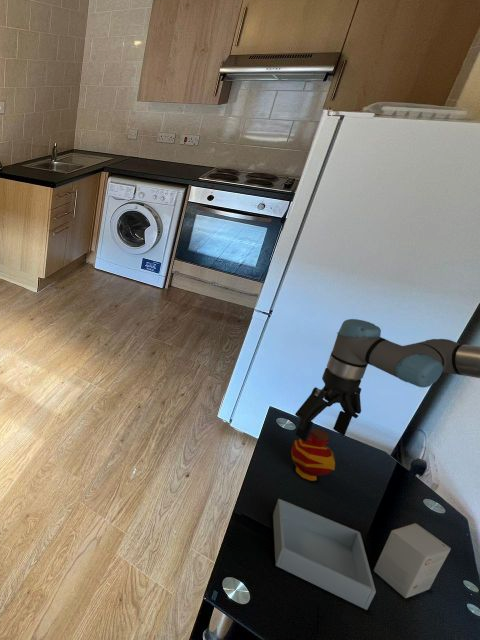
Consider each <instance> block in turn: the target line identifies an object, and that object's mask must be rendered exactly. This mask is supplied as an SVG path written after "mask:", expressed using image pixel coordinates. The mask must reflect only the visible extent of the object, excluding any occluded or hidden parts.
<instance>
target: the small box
mask: <svg viewBox="0 0 480 640" xmlns="http://www.w3.org/2000/svg"><path fill="white" fill-rule="evenodd" d="M450 551H451V547H450V546H448V545H447V544H446V543H444V542H443V541H442V540H440V539H439V538H438V537H436V536H435V535H433V534H432V533H431V532H429V531H428V530H426V529H425V528H424V527H422V526H421V525H419V524H418V523H416V522H414V523H411V524H408V525H404V526H401V527H398V528H396V529H395V528H394V529H392V530H391V531H390V533H389V535H388V538H387V540H386V542H385V544H384V546H383V548H382V551H381V553H380V555H379V557H378V560H377V562H376V564H375V566H374V568H373V572H374V573H375V574H377V575H378V576H379V577H380V578H381V579H382V580H383V581H384V582H386V584H388V585H389V586H390V587H391V588H393V589H394V590H395V591H396V592H397V593H398V594H399V595H401V596H402V597H403V598H404V599H408V598H410V597H413V596H416V595H418V594H422V593H424V592H426V591H428V590H430V589H431V587H432V585H433V583H434V582H435V580H436V578H437V575H438V573H439V572H440V570H441V568H442V566H443V565H444V562H445V561H446V559H447V557H448V556H449V553H450Z"/></svg>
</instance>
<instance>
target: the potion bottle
mask: <svg viewBox="0 0 480 640" xmlns="http://www.w3.org/2000/svg"><path fill="white" fill-rule="evenodd" d="M311 431H312V432H310V433H309V437H308V438H307V441H303V440H302V439H301V438H299V439H296V440H294V442H293V444H292V447H291V449H290V452H291V453H290V454H291V460H292V461H293V464H294V465H295V472H296V473H297V474H298V475H299V476H300V477H301V478H303V479H306V480H307V481H311V482H313V481H318V480H317V479H318V478H317V476H324V475H325V476H326V475H328V474H331V473H332V471H335V470H336V469H335V468H336V460H335V453H334V452H333V451H332V450H331V448H329V446H327V445H328V444H329V439H330V434H328V433H327V432H326V431H324V430H321V429H319V428H311Z"/></svg>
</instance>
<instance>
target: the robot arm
mask: <svg viewBox="0 0 480 640" xmlns="http://www.w3.org/2000/svg"><path fill="white" fill-rule="evenodd" d="M336 334H337V335H336V338H335V341H334V345H333V348H332V351H331V352H330V355H329V357H328V360H327V364H326V367H325V369H324V371H323V373H322V376H321V377H322V378H321V380H322V381H323V383H324V385H323V387H322V388H321V389H320V388H318V387H316V386H314V387H313V389H312V390H311V393H310V394H309V396H308V397H307V398H306V400H305V401H304V402H303V403H302V405H300V407H299V408H298V409H297V411H296V412H295V413H294V414H295V416H296V417H297V418H299V423H298V425H297V428H296V431H295V435H296V436H297V437H298V438H299V439H302V440H303V441H307V438H309V436H310V433H311V431H312V427H313V424H314V422H313V420H315V419H316V418H317V416H319V415H320V414H321V413H322V412H323V411H324V410H326V408H329V407H330V408H331V407H332V406H333V405H334V404H340V407H341V409H342V410H339V412H338V415H337V417H336V421H335V423H334V425H333V431H335V432H336V433H338V434H340V435H341V436H343V437H344V436H346V433H347V431H348V428H349V426H350V423H351V421H352V419H353V418H354V419H357V418H358V417H359V415H360V414H361V413H362V405H361V404H362V402H361V392H362V388H361V387H360V385H361V383H362V379H364V375H365V373H366V370H367V367H368V365H370V366H372V367H374V368H376V369H379V370H381V371H383V372H384V373H386V374H389V375H391V376H393V377H395V378H397V379H399V380H401V381H403V382H405V383H408V384H410V385H413V386H416V387H418V388H429V387H431V386H432V385H433V384H435V383H436V382H437V381H438V380H439V379H440V377H441V375H442V373H447V374H452V375H459V376H464V377H470V378H477V379H480V346H479V345H471V344H462V343H458V342H456V341H454V340H451V339H449V338H448V339H447V338H431V339H426V340H423V341H420V342H416V343H415V342H414V343H410V344H405V345H401V344H398V343H395V342H393V341H391V340H389V339H386V338H384V337H382V330H381V327H379V325H376V324H374V323H372V322H370V321H366V320H363V319H357V318H350V319H346V320H344V321H343V322H342V324H341V326H340V328H339V330H338V332H337V333H336Z"/></svg>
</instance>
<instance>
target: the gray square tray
mask: <svg viewBox="0 0 480 640" xmlns="http://www.w3.org/2000/svg"><path fill="white" fill-rule="evenodd" d="M272 521H273V523H272V524H273V541H274V543H273V544H274V559H275V560H274V561H275V562H274V563H275V567H277V568H279V569H282V570H284V571H285V572H287V573H290V574H292V575H294V576H296V577H298V578H300V579H302V580H304V581H307V582H308V583H310V584H312V585H314V586H317V588H318V587H319V588H320V589H322V590H324V591H327V592H329V593H331V594H333V595H335V596H337V597H339V598H342V599H343V600H345V601H347V602H349V603H351V604H353V605H355V606H357V607H360V608H362V609H364V610H365V611H368V609H369V607H370V605H371V603H372V601H373V599H374V597H375V595H376V594H377V591H376V587H375V583H374V579H373V575H372V571H371V568H370V564H369V561H368V556H367V553H366V550H365V545H364V542H363V538H362V534H361V532H360V531H358V530H356V529H354V528H351V527H348V526H346V525H343V524H341V523H339V522H336V521H334V520H331V519H329V518H326V517H324V516H322V515H319V514H317V513H315V512H312V511H310V510H307V509H305V508H303V507H301V506H298V505H295V504H293V503H291V502H288V501H285V500H283V499H280V498H278V499H277V502H276V505H275V508H274V510H273V514H272Z"/></svg>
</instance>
